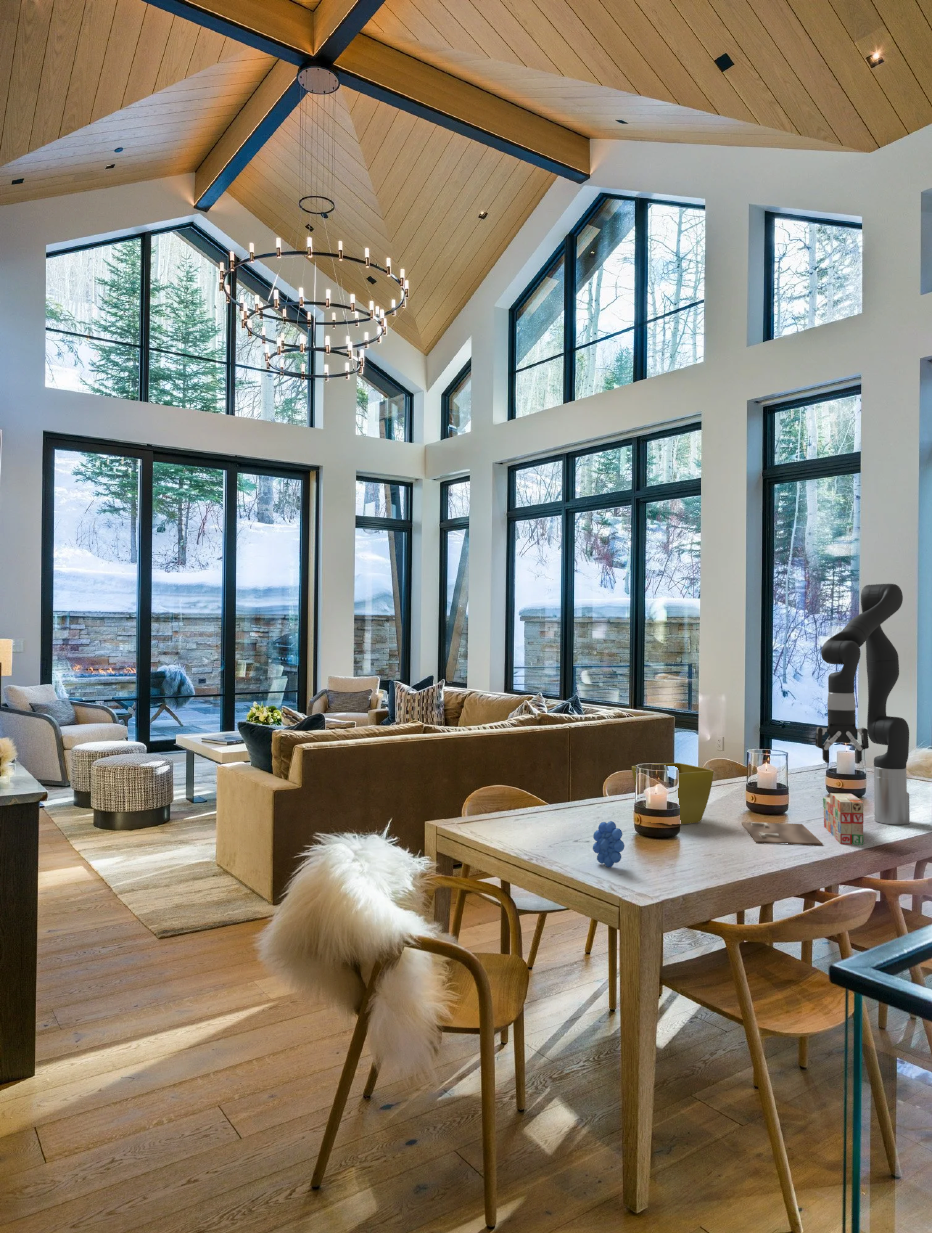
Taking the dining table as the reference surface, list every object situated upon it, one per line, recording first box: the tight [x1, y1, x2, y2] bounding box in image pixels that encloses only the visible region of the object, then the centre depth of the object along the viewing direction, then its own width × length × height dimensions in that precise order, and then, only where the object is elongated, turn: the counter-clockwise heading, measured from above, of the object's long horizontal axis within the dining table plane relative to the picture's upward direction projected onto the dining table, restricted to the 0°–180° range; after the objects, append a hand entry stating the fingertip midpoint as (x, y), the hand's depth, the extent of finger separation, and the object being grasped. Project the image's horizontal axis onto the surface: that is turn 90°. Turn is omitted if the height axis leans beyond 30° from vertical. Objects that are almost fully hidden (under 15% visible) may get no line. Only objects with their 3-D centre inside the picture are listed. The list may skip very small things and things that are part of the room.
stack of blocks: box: [822, 792, 865, 846], centre depth 245 cm, size 21×6×12 cm, turn 169°
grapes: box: [592, 820, 625, 868], centre depth 213 cm, size 12×7×12 cm, turn 29°
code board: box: [741, 821, 824, 846], centre depth 246 cm, size 18×24×1 cm
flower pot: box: [631, 762, 714, 825], centre depth 265 cm, size 19×19×17 cm
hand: (842, 762), depth 245 cm, fingers open, 8 cm apart
